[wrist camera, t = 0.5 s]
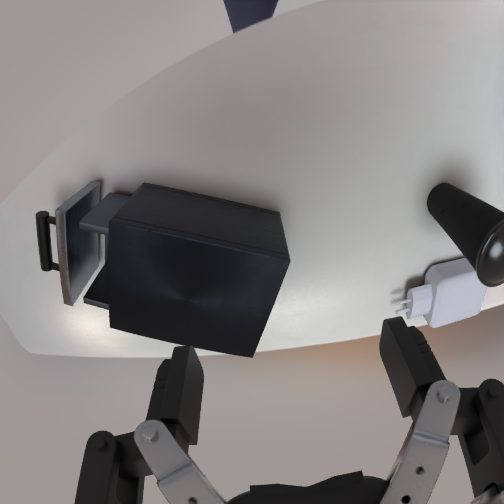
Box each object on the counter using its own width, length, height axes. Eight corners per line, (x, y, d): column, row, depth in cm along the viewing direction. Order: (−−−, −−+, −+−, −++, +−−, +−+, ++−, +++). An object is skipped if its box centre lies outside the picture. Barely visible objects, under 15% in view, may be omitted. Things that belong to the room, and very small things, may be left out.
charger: (392, 271, 40) (475, 252, 38) (388, 319, 44) (465, 298, 43) (405, 292, 36) (492, 269, 34) (398, 341, 40) (478, 316, 39)
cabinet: (135, 274, 40) (109, 327, 31) (143, 182, 33) (108, 220, 24) (251, 299, 42) (252, 358, 33) (279, 212, 35) (290, 260, 27)
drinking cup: (446, 159, 32) (564, 237, 14) (471, 199, 34) (569, 284, 17) (407, 201, 35) (506, 304, 17) (435, 237, 37) (520, 339, 20)
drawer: (64, 257, 37) (34, 294, 30) (61, 175, 31) (22, 202, 24) (196, 288, 40) (186, 335, 32) (213, 205, 34) (204, 242, 27)
